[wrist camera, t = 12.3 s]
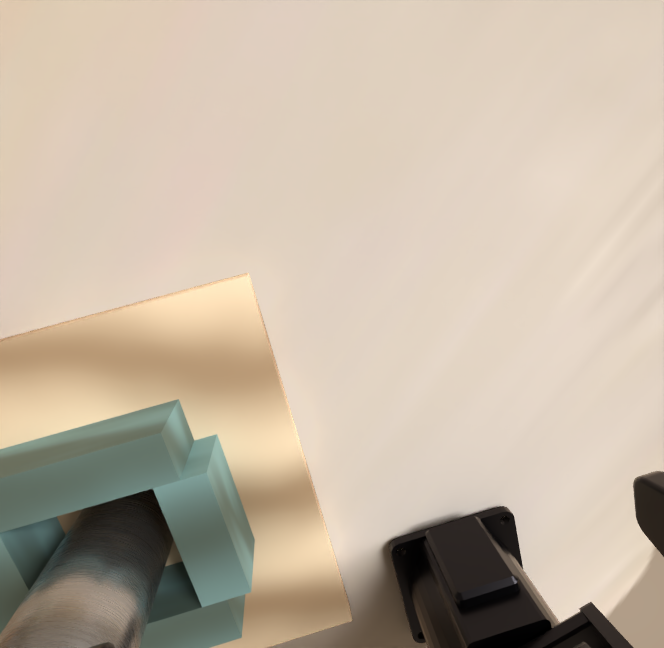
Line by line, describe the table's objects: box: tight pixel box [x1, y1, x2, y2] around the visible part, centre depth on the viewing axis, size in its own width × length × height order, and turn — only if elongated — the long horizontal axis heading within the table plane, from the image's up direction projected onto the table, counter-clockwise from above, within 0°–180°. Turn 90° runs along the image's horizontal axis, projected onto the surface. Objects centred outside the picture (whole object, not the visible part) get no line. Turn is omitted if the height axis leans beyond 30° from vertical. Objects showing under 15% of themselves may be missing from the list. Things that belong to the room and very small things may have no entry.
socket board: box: [0, 273, 352, 648], centre depth 19 cm, size 18×16×4 cm
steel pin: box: [0, 489, 174, 648], centre depth 15 cm, size 4×4×10 cm
